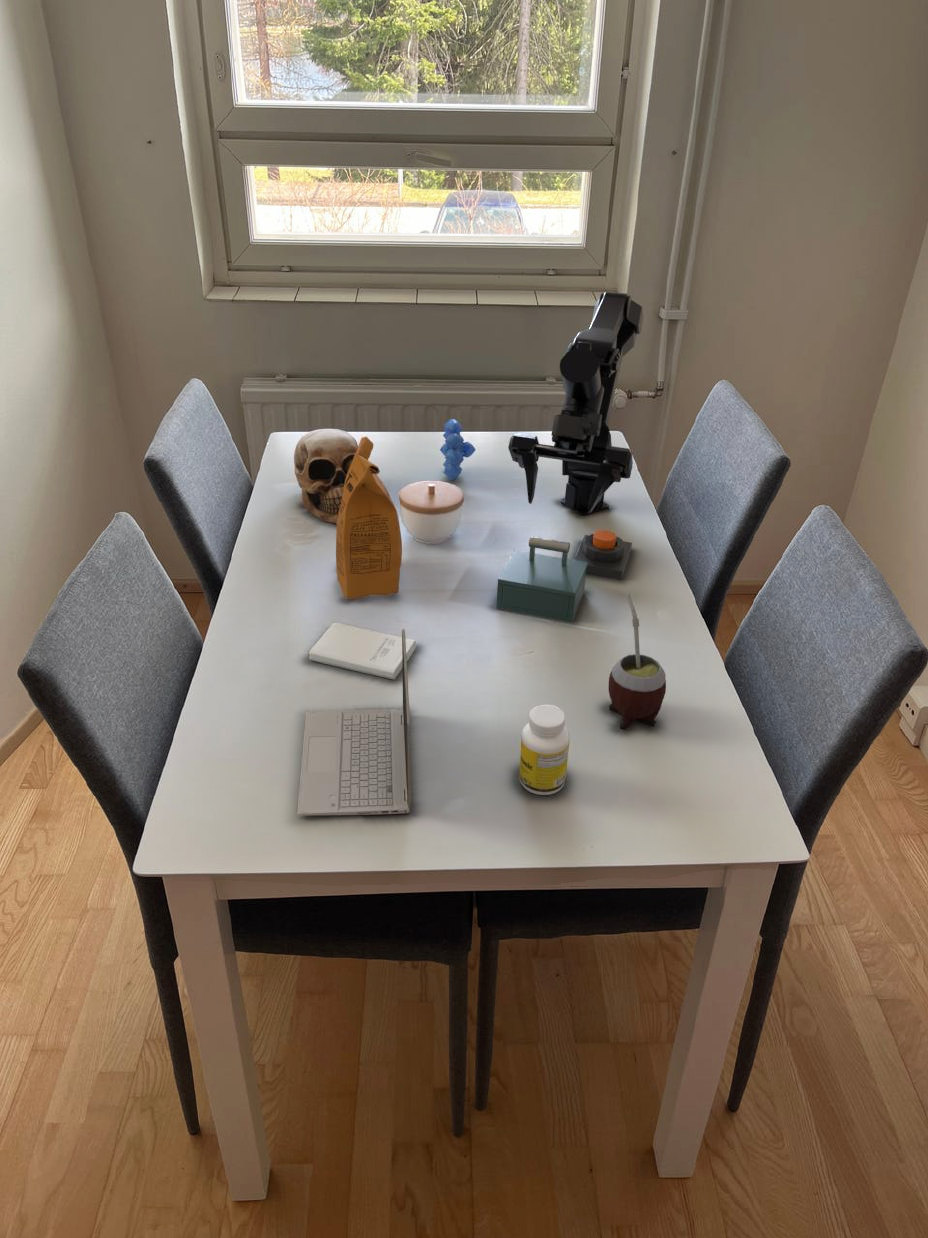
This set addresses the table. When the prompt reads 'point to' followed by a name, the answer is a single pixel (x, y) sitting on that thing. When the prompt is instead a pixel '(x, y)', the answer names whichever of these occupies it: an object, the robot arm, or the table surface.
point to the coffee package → (367, 532)
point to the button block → (604, 558)
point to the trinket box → (431, 510)
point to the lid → (544, 569)
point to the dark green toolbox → (539, 601)
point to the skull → (324, 470)
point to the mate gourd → (636, 684)
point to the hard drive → (361, 650)
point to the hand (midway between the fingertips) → (559, 507)
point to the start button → (604, 539)
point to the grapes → (454, 449)
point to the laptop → (357, 760)
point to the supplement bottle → (544, 751)
